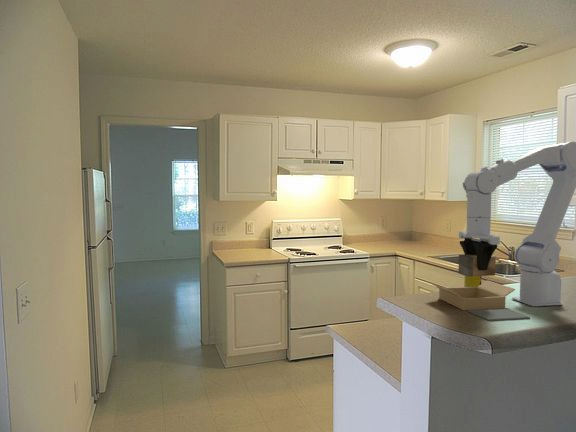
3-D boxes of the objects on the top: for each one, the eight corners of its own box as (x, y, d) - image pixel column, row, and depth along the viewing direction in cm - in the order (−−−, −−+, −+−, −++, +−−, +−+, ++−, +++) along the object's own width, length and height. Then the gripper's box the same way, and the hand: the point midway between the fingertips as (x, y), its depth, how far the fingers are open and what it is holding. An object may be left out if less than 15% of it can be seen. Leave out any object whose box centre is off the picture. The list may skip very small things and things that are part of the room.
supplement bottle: (482, 295, 122) (483, 266, 121) (465, 294, 123) (466, 266, 122) (478, 291, 126) (479, 264, 126) (462, 290, 127) (463, 263, 127)
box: (485, 272, 112) (485, 254, 112) (495, 275, 108) (495, 256, 108) (458, 273, 111) (458, 254, 111) (467, 276, 107) (467, 257, 107)
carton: (486, 296, 120) (486, 279, 119) (515, 307, 108) (516, 289, 108) (429, 299, 116) (429, 281, 116) (452, 310, 105) (453, 291, 105)
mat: (506, 309, 106) (506, 307, 106) (530, 318, 98) (530, 317, 98) (467, 311, 104) (468, 309, 104) (488, 320, 97) (488, 319, 97)
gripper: (449, 215, 115) (448, 264, 116) (482, 219, 101) (480, 274, 102) (472, 215, 116) (470, 263, 117) (508, 219, 102) (506, 273, 103)
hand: (477, 268), depth 110 cm, fingers closed on box, 4 cm apart
